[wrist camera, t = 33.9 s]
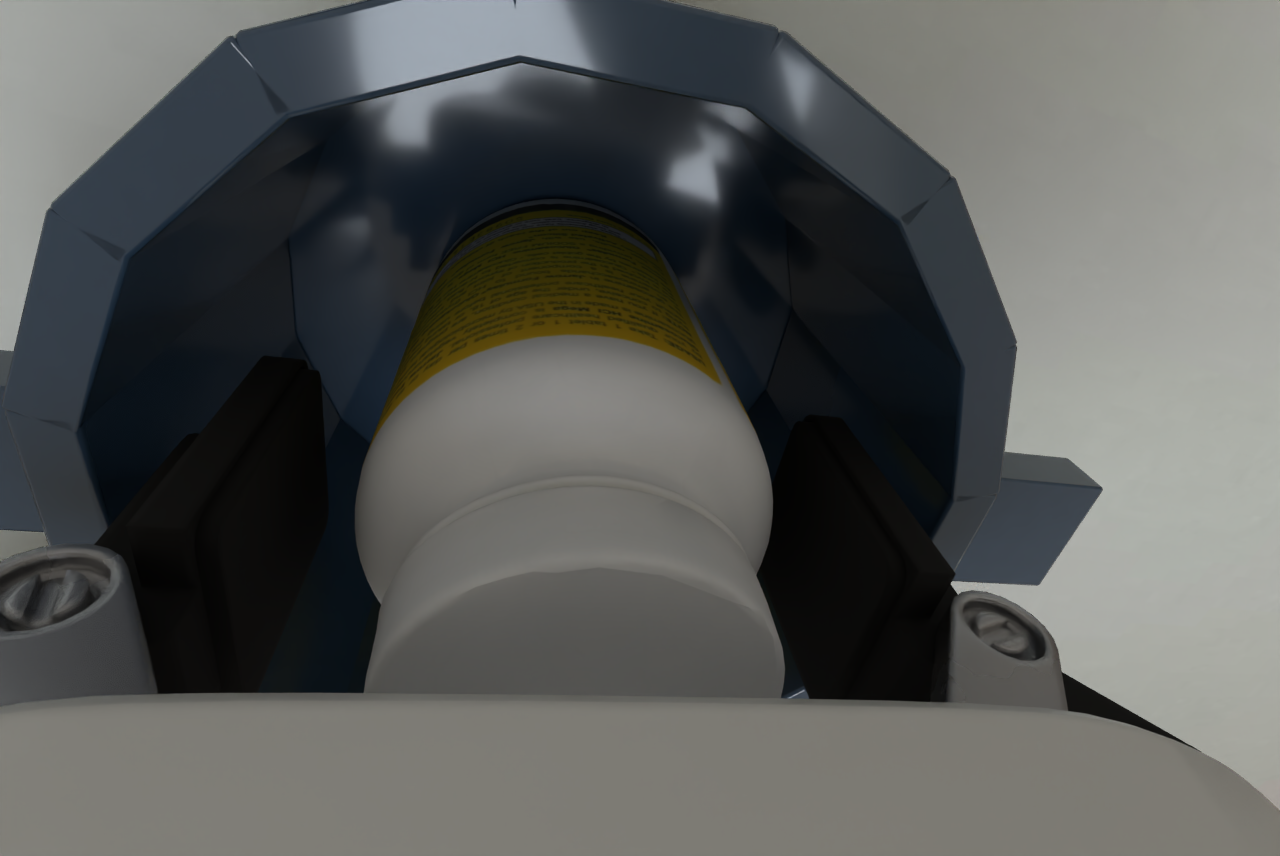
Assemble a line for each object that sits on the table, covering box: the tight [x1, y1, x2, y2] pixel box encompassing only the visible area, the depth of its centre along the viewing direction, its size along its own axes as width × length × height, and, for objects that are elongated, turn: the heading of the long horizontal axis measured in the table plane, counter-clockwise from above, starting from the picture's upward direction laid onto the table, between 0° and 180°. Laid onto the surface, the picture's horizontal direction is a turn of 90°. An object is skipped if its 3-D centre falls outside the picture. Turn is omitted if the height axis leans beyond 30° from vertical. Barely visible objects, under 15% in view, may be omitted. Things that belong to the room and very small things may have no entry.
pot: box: [0, 0, 1103, 699], centre depth 13 cm, size 14×19×8 cm
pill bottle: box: [355, 199, 785, 698], centre depth 12 cm, size 6×6×11 cm
